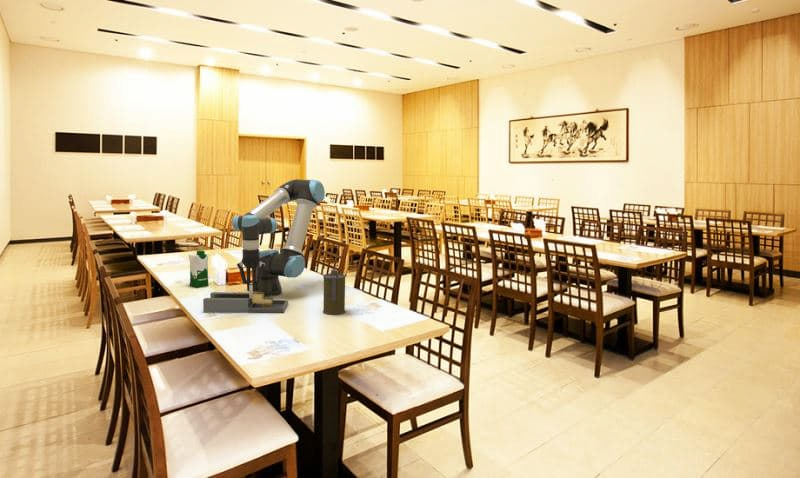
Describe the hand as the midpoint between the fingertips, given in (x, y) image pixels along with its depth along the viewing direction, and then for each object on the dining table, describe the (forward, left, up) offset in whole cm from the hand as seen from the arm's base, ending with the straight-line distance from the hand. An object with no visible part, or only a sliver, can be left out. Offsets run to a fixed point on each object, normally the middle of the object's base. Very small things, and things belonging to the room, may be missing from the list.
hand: (251, 297), depth 236 cm
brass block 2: (-5, +1, -2) cm, 6 cm away
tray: (-8, 0, -5) cm, 9 cm away
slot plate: (+10, 0, -5) cm, 11 cm away
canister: (-39, +5, -5) cm, 40 cm away
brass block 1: (-3, 0, -2) cm, 4 cm away
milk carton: (+38, -45, -5) cm, 59 cm away
